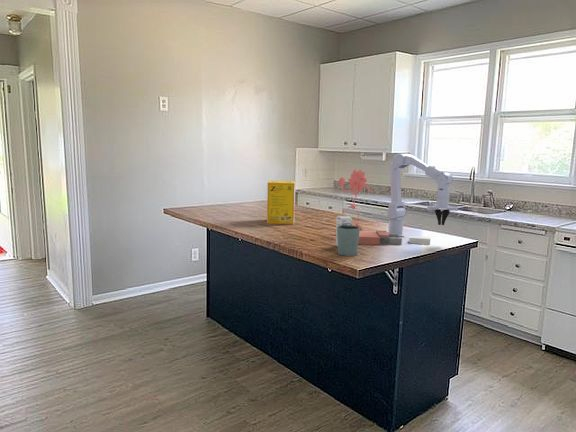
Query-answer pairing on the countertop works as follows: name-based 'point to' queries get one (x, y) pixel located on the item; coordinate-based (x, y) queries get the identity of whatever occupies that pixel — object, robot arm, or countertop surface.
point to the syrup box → (342, 223)
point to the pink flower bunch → (355, 186)
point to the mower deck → (378, 237)
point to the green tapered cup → (348, 239)
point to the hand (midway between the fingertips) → (441, 224)
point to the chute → (419, 240)
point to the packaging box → (280, 202)
